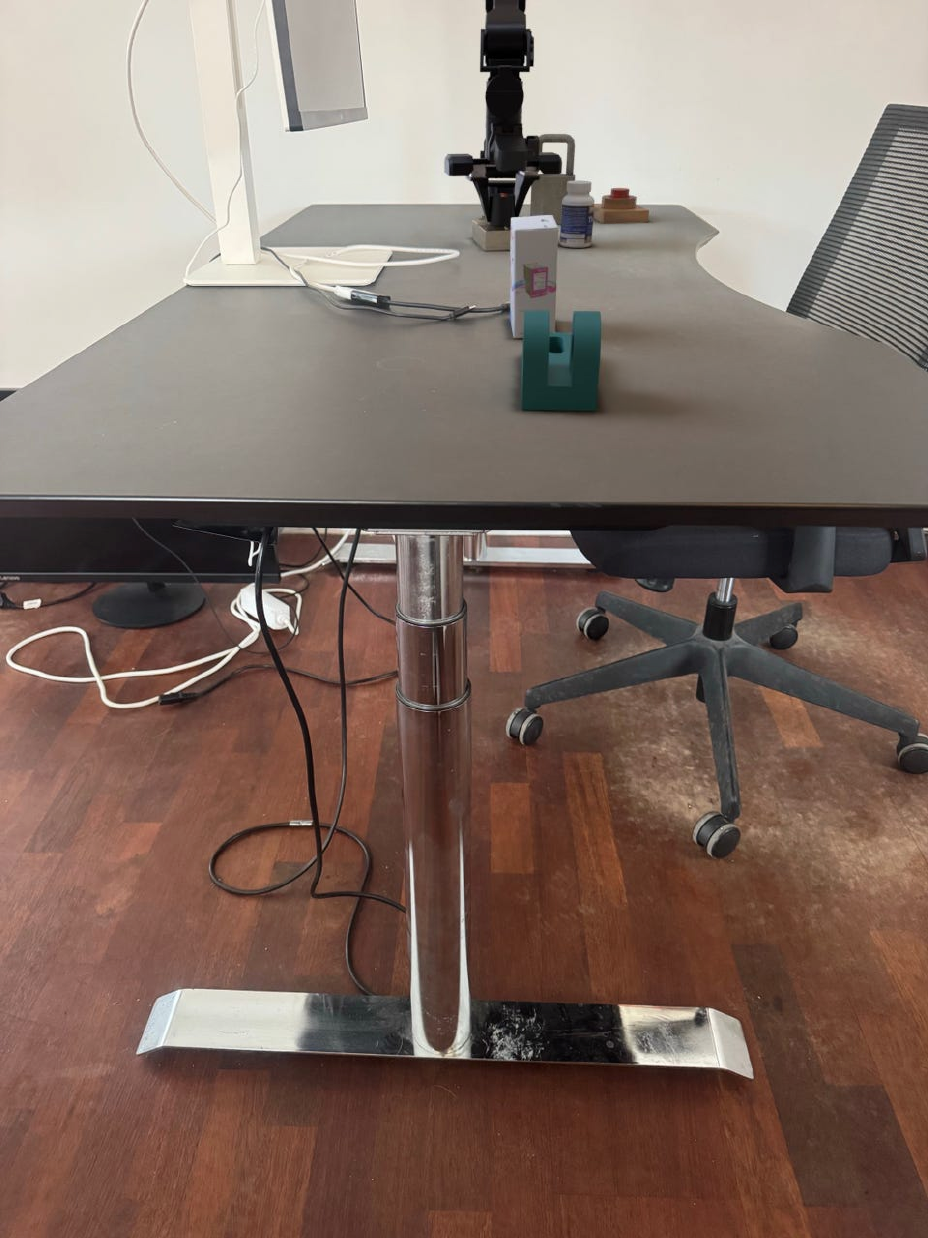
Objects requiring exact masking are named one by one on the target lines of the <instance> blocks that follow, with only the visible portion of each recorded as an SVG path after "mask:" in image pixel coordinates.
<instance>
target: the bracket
mask: <svg viewBox="0 0 928 1238" xmlns="http://www.w3.org/2000/svg"><path fill="white" fill-rule="evenodd" d="M572 313H573V314H572V320H571V321H572V322H571V330H570V333H569V332H559V331H555V332H550V311H534V310H524V329H523V338H522V341H521V342H522V343H521V347H522V348H521V406H520V407H521V410H522V411H567V412H568V411H571V412H572V411H573V412H574V411H575V412H576V411H577V412H578V411H579V412H597V405H598V392H599V391H598V390H599V381H600V380H599V379H600V366H601V356H602V355H601V353H602V314H601V311H600V310H574V311H573V312H572Z"/></svg>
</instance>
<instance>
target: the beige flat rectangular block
mask: <svg viewBox="0 0 928 1238" xmlns="http://www.w3.org/2000/svg"><path fill="white" fill-rule="evenodd" d="M471 223H472V224H471V225H472V226H471V232H472V233H471V239H472V240H473V241H475V242H476V243H477V245H478V246H479V247H481V249H483V250H484V251H485V252H494V251H495V252H496V251H497V252H498V251H510V243H511V226H504V227H500V226H491V225H489V222H487V221H486V220H484V219H472V220H471Z"/></svg>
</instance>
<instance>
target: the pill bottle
mask: <svg viewBox="0 0 928 1238" xmlns="http://www.w3.org/2000/svg"><path fill="white" fill-rule="evenodd" d="M566 189H567V191H568V195H567V196H565V197H564V198H563V199H562V210H561V224H560V228H559V229H560V231H559V245H560V246H561V247H564V248H573V249H579V248H580V249H581V248H588V247H590V246H591V245H592V240H593V228H594V218H593V215H594V204H595V199H594V197H593V196H592V195H591V194H590V193H591V192H592V181H589V180H575V181H568V182H567V188H566Z"/></svg>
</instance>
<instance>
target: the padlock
mask: <svg viewBox="0 0 928 1238" xmlns="http://www.w3.org/2000/svg"><path fill="white" fill-rule="evenodd" d="M538 137H539V139H540V151H539V152H543V150H544V149H543V148H544V147H543V145H544V144H546V143H549V144H567V146H566V164H565V173H562V174H543V173H538V176H540V180H535V181H534V182H533V184H532V185H531V187H530V206H529V207H530V208H529V209H530V210H529V211H530V212H529V216H541V215H553V218H554V220H555V222H556V224H557V225H561V210H562V199H563V198H564V197H565V196H567V195H568V191H567V189H566V188H567V182H568V181H576V174H574V171H575V156H576V155H575V154H576V142H575V141H576V140H575V138H574V137H573V136H572V135H570V134H567V133H542V134H540V135H538Z"/></svg>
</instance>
